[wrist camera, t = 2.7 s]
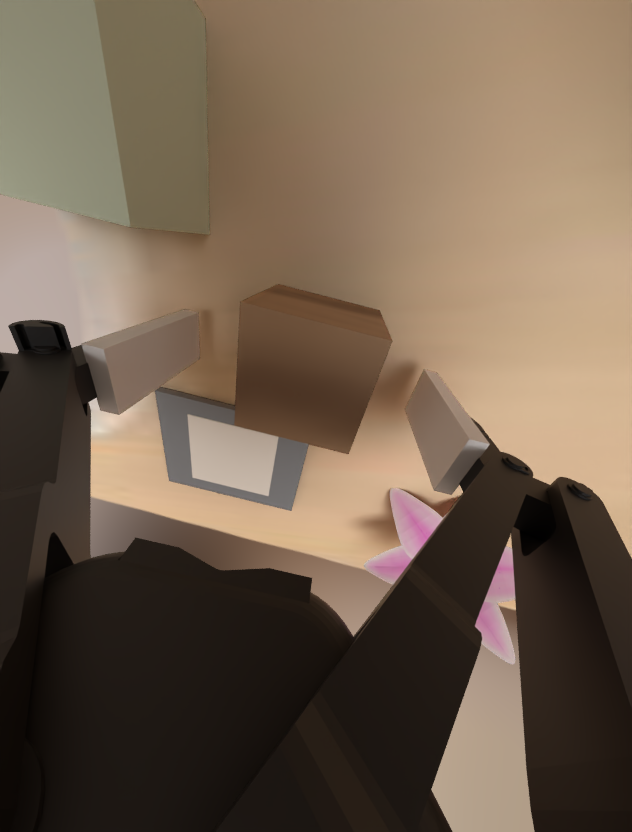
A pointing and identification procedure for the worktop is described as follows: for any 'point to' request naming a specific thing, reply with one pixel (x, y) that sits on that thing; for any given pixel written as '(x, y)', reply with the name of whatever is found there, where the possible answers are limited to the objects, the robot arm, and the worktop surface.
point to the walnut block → (307, 366)
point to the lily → (413, 532)
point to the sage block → (106, 110)
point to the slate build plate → (226, 451)
